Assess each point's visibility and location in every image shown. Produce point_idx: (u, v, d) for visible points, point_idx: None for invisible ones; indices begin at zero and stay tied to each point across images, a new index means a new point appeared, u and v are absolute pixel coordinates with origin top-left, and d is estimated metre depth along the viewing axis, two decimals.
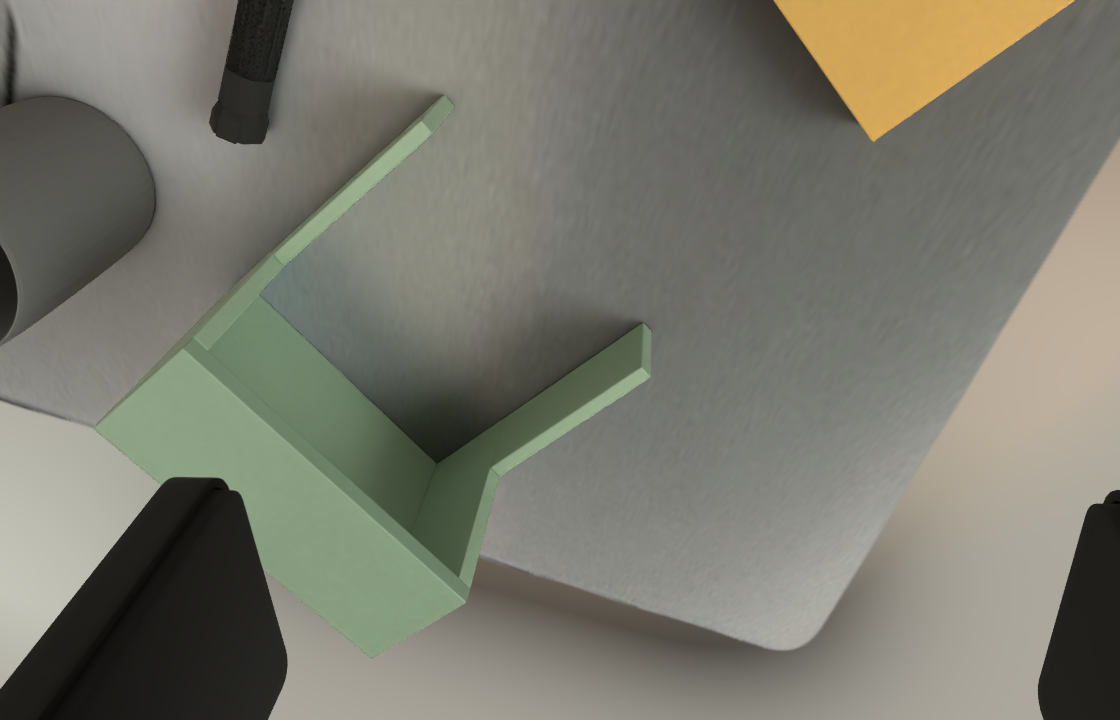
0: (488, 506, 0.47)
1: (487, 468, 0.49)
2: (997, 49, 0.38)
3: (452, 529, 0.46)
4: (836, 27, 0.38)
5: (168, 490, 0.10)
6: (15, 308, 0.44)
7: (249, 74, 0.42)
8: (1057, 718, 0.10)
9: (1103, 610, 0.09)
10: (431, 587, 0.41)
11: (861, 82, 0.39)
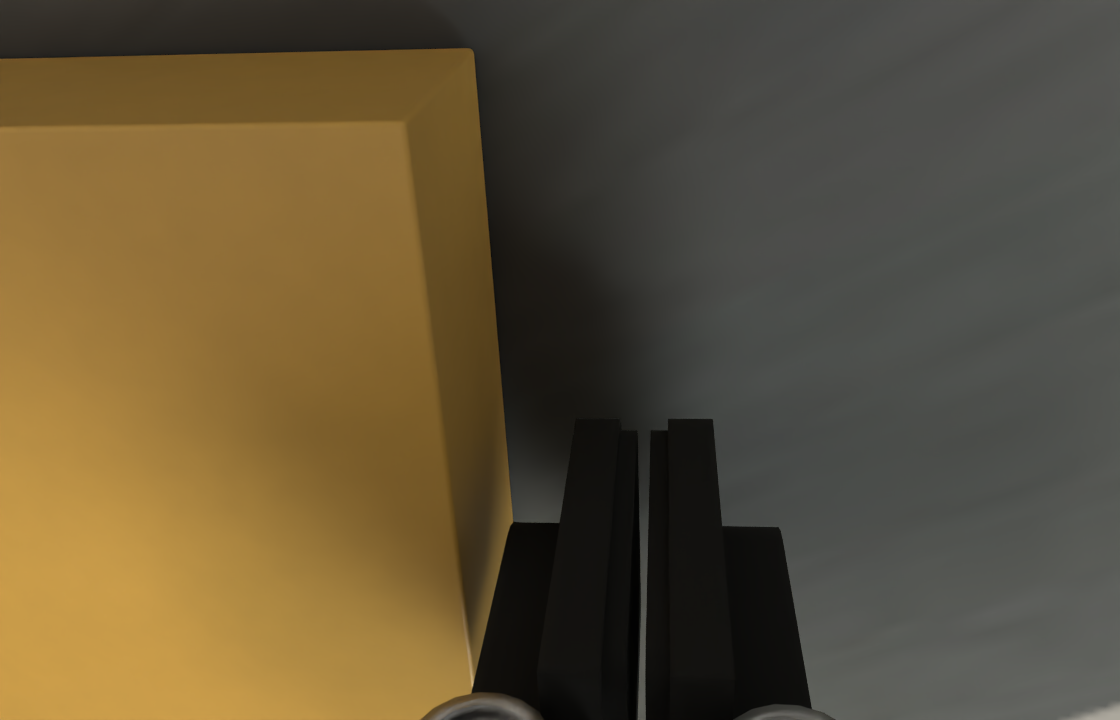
0: None
1: None
2: None
3: None
4: None
5: (584, 429, 0.10)
6: None
7: None
8: None
9: None
10: None
11: None
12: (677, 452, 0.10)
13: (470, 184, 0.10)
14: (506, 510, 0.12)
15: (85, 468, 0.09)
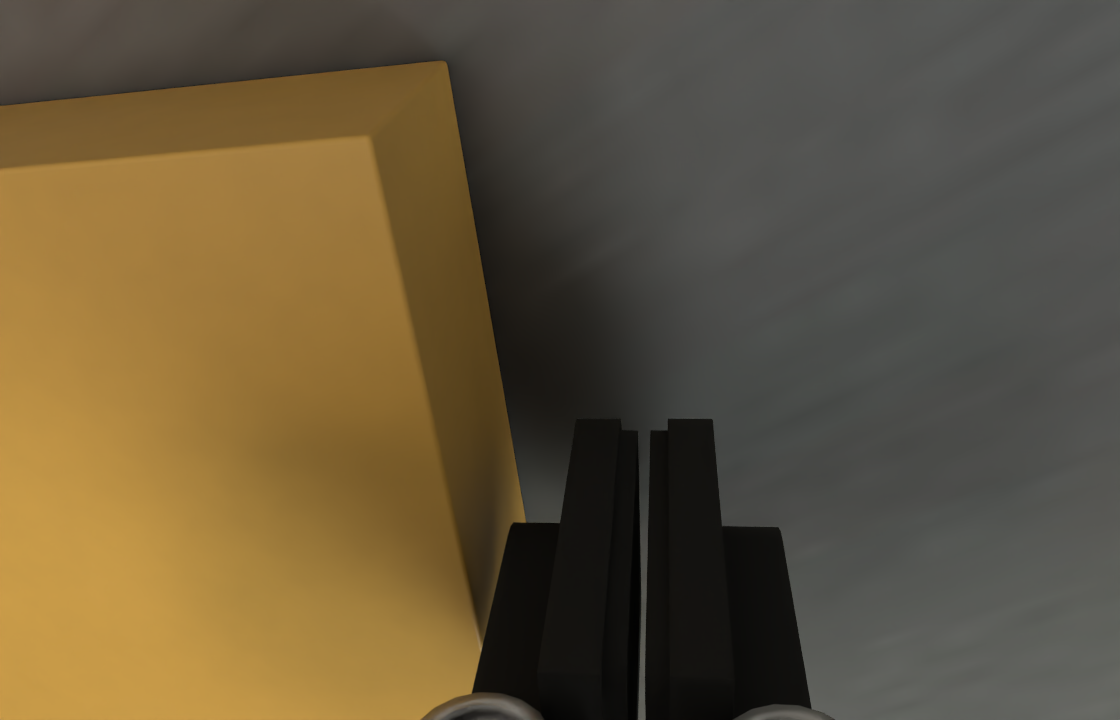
0: None
1: None
2: None
3: None
4: None
5: (584, 429, 0.10)
6: None
7: None
8: None
9: None
10: None
11: None
12: (677, 452, 0.10)
13: (451, 192, 0.10)
14: (517, 510, 0.12)
15: (100, 491, 0.10)
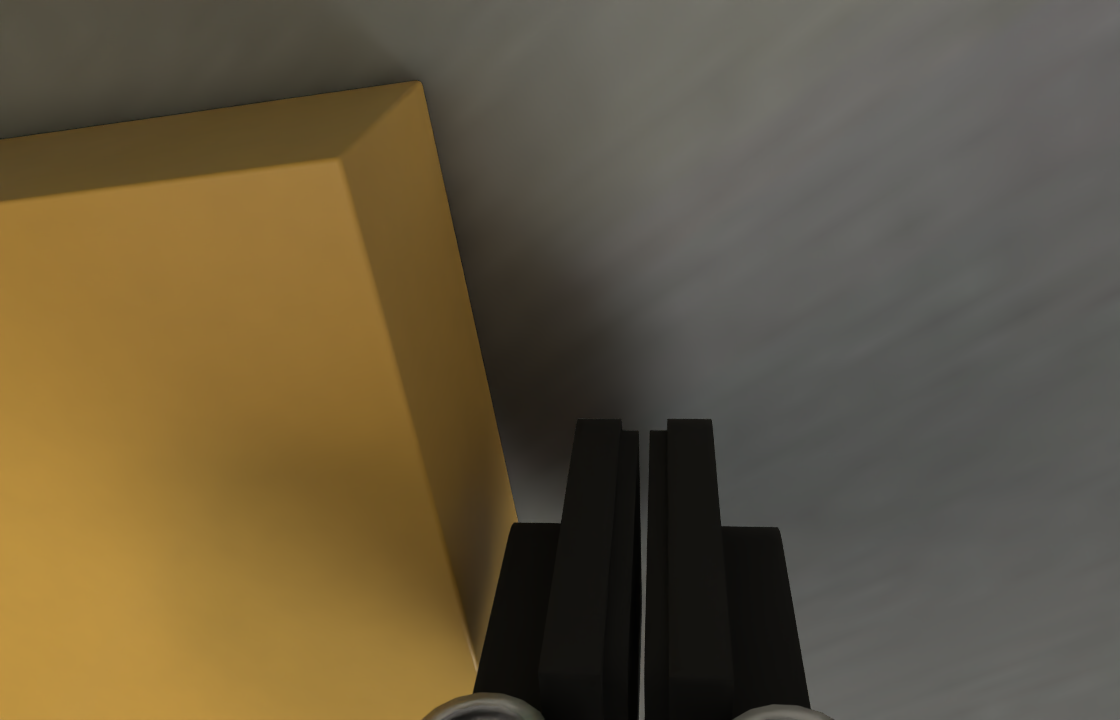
0: None
1: None
2: None
3: None
4: None
5: (585, 429, 0.10)
6: None
7: None
8: None
9: None
10: None
11: None
12: (676, 452, 0.10)
13: (430, 211, 0.10)
14: None
15: (86, 524, 0.10)
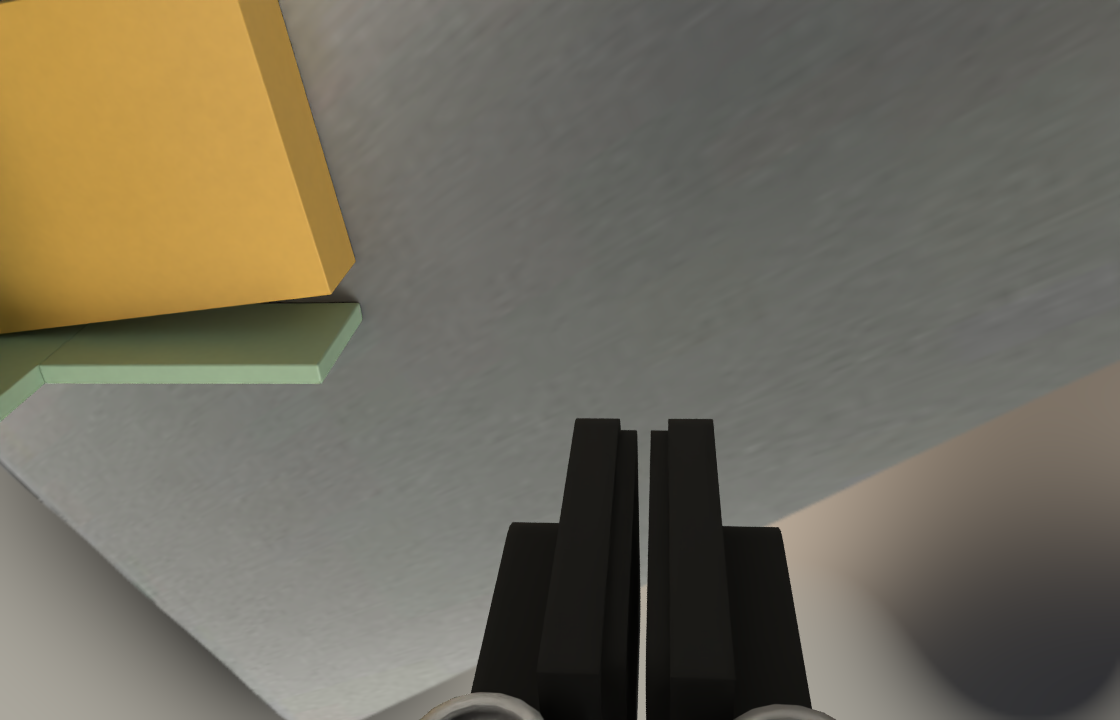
0: None
1: (33, 365, 0.32)
2: (102, 317, 0.33)
3: None
4: None
5: (583, 429, 0.10)
6: None
7: None
8: None
9: None
10: None
11: None
12: (677, 452, 0.10)
13: None
14: (313, 134, 0.32)
15: (154, 97, 0.29)
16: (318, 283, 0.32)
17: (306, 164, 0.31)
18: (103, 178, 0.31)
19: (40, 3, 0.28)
